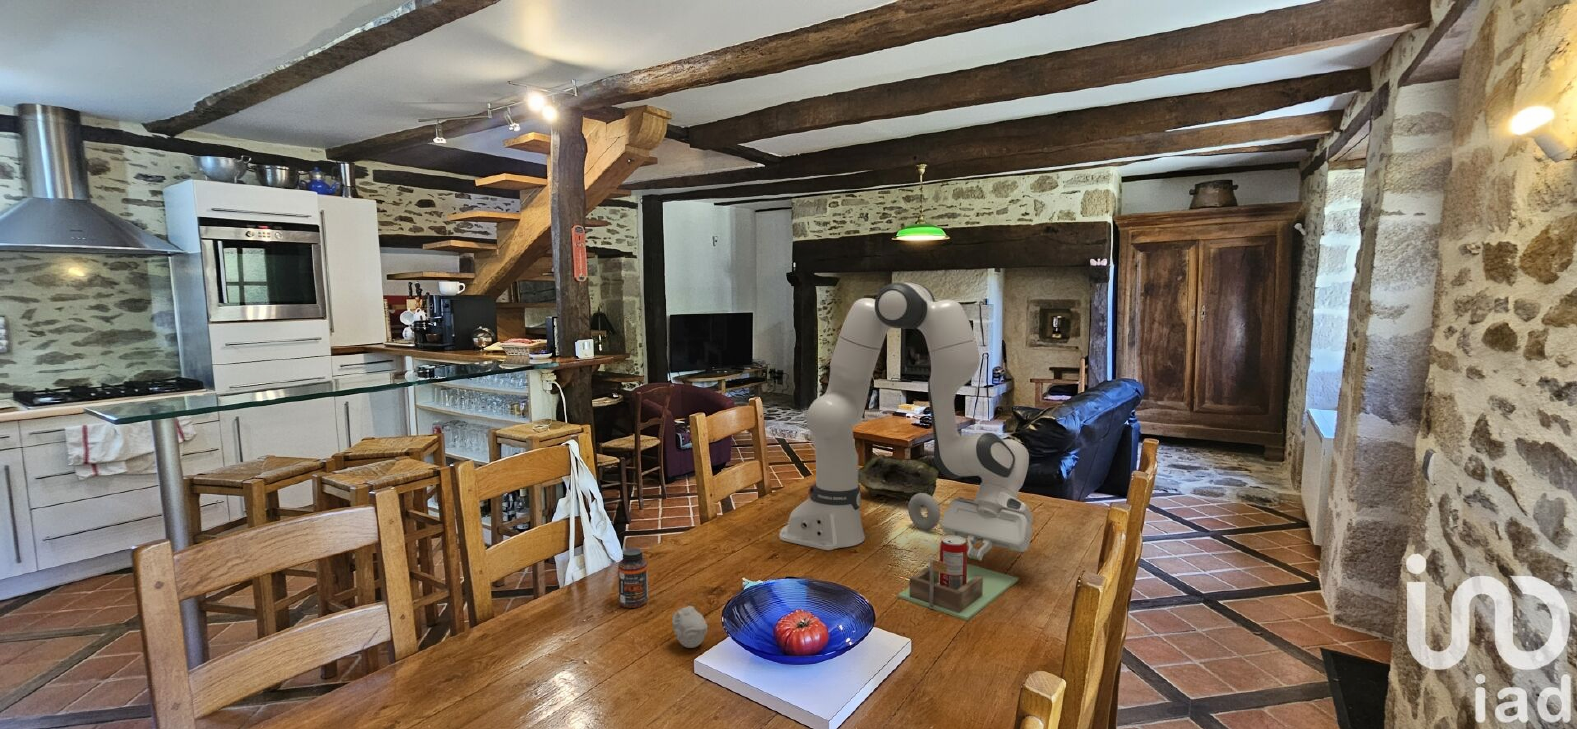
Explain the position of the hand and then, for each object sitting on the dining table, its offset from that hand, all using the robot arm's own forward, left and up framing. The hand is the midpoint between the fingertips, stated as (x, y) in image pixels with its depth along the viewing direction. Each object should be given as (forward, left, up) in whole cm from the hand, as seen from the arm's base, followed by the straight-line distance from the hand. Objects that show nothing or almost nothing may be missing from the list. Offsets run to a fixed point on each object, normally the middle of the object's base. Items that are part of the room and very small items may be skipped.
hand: (973, 558), depth 150 cm
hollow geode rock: (-28, +51, -5) cm, 58 cm away
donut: (-16, +28, -5) cm, 33 cm away
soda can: (-3, -10, -5) cm, 11 cm away
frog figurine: (-45, -47, -5) cm, 65 cm away
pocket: (-5, -12, -4) cm, 14 cm away
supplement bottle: (-65, -36, -5) cm, 75 cm away
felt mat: (-2, -6, -5) cm, 8 cm away
